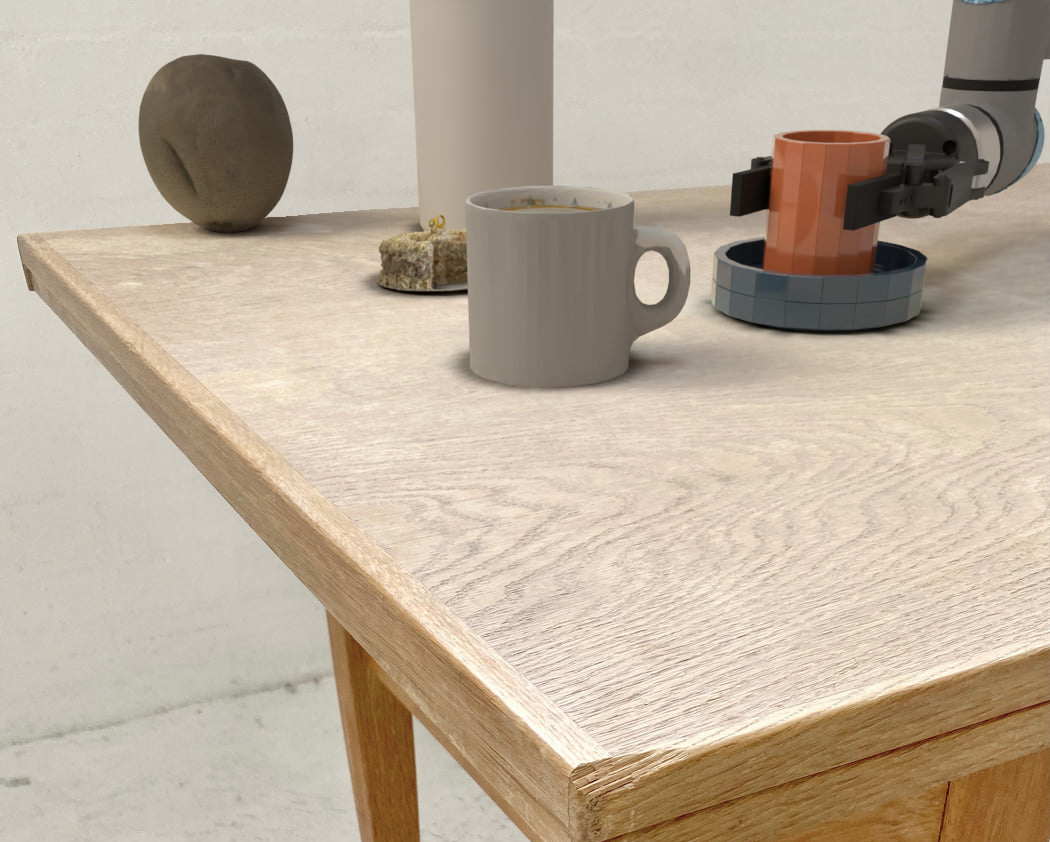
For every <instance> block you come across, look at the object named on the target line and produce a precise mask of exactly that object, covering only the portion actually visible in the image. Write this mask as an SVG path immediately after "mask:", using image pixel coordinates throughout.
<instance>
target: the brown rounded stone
mask: <svg viewBox="0 0 1050 842" xmlns="http://www.w3.org/2000/svg"><path fill="white" fill-rule="evenodd" d="M293 134H294V133H293V127H292V123H291V119H290V115H289V111H288V108H287V105H286V102H285V101H284V99H283V96H282V94H281V93H280V91H279V90H278V88H277V86H276V85H275V83H274V82H273V81H272V80H271V78H270V77H269V76H268V75H267V74H266V73H265V72H264V71H263V70H262V69H261V68H260V67H259V66H257V65H256V64H254V63H253V62H251V61H249V60H244V59H243V60H242V59H234V58H229V57H225V56H221V55H220V56H219V55H213V54H204V53H198V54H189V55H182V56H179V57H177V58H175V59H173V60H171V61H169V62H167V63H165V64H164V65H163V66H161V67H160V68H158V70H157V71H156V72H155V73H154V74H153V76H152V77H151V78H150V80H149V82H148V84H147V86H146V88H145V90H144V93H143V95H142V98H141V101H140V105H139V111H138V139H139V146H140V150H141V155H142V158H143V161H144V164H145V166H146V170H147V171H148V174H149V177H150V178H151V180H152V182H153V184H154V186H155V187H156V189H157V190H158V192H159V193H160V195H161V197H162V198H163V199H164V200H165V202H167V203H168V205H170V206H171V207H172V209H174V210H175V211H176V212H177V213H179V214H180V215H181V216H183V217H184V218H186V219H187V220H189V221H190V222H192V223H193V224H195V225H197V226H198V227H201V228H204V229H206V230H208V231H212V232H215V233H217V232H218V233H238V232H245V231H247V230H251V229H252V228H254V227H255V226H257V225H259V223H261V222H262V221H263V220H265V219H266V218H267V217H268V215H269V214H270V213H271V212H272V211H273V210H274V209H275V208H276V206H277V205H278V204H279V202H280V201H281V199H282V197H283V196H284V193H285V190H286V187H287V186H288V185H287V184H288V182H289V178H290V173H291V170H292V165H293V160H294V159H293V158H294V135H293Z"/></svg>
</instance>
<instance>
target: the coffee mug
mask: <svg viewBox="0 0 1050 842" xmlns="http://www.w3.org/2000/svg"><path fill="white" fill-rule="evenodd" d="M634 219H635V198H634V197H633V196H632V195H631V194H628V193H626V192H623V191H619V190H613V189H608V188H601V187H592V186H576V185H553V186H525V187H512V188H502V189H495V190H489V191H483V192H479V193H476V194H474V195H471V196H469V197H468V198H467V199H466V242H467V277H468V284H467V288H468V289H467V307H468V309H467V310H468V311H467V312H468V338H469V339H468V345H469V368H470V371H471V372H473V373H474V374H475V375H477V376H479V378H480V377H481V378H483V379H485V380H489V381H490V382H491V381H492V382H495V383H498V384H499V383H500V384H503V385H504V384H505V385H510V386H516V387H517V386H518V387H529V388H568V387H580V386H588V385H593V384H597V383H602V382H606V381H610V380H613V379H616V378H617V377H618V378H619V377H620V376H621V375H623V374H624V373H626V372H627V371H628V369H629V366H630V362H629V361H630V351H631V348H632V346H633V344H634V342H636V341H637V340H638V339H639V338H641V337H642V336H644V335H647V334H649V333H651V332H654V331H656V330H658V329H661V328H663V327H664V326H666V325H668V324H670V323H671V322H673V321H674V320H675V319H676V318H677V317H678V316H679V314H680V313H681V312H682V310H683V308H684V307H685V305H686V302H687V299H688V296H689V292H690V286H691V272H692V271H691V263H690V261H691V260H690V257H689V254H688V253H689V252H688V250H687V247H686V245H685V243H684V242H683V240H682V239H681V238H680V237H679V236H678V235H677V234H676V233H674V232H673V231H671V230H669V229H666V228H662V227H657V226H648V225H647V226H645V225H638V224H635V223H634ZM647 252H656V253H658V254H660V256H662V258H663V259H664V260H665V262H666V266H667V269H668V284H667V289H666V292H665V294H664V296H663V298H661V299H660V300H659V301H658V302H656V303H652V304H647V303H644V302H642V300H640V298H639V297H638V296H637V293H636V285H635V276H636V270H637V269H636V268H637V265H638V262H639V261H640V259H641V257H642V256H643V255H645V253H647Z"/></svg>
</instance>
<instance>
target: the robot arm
mask: <svg viewBox="0 0 1050 842" xmlns="http://www.w3.org/2000/svg"><path fill="white" fill-rule="evenodd" d="M950 13H951V14H950V22H949V28H948V36H947V37H948V38H947V44H946V52H945V61H944V67H943V77H942V85H941V88H940V95H939V104H938V107H931V108H928V109H925V110H922V111H918V112H912V113H909V114H906V115H903V116H900V117H898V118H897V119H895V120H893V121H892V122H890V123H889V124H887V125H886V127H885V128H884V129H883V130H881V132H880V134H882V135H886V136H888V137H889V138H890V146H889V154H888V162H887V170H886V175H882V176H879V177H875V178H872V179H868V180H865V181H861V182H857V183H854V184H850V185H848V189H847V198H846V207H845V216H844V225H843V229H844V230H852V231H854V230H857V229H860V228H863V227H866V226H869V225H872V224H875V223H878V222H880V223H881V222H883V221H886V220H889V219H893V218H896V217H898V218H903V219H910V220H915V219H921V218H926V217H929V216H930V217H932V218H934V219H941V218H943V217H947V216H948V215H950V214H952V213H953V212H955V211H956V210H958V209H960V207H962V206H963V205H965V204H967V203H968V202H970V201H978V200H979V199H983V198H985V197H989V196H993V195H997V194H999V193H1001V192H1003V191H1005V190H1008V188H1009V187H1011V186H1013V185H1015V184H1016V183H1018V182H1019V181H1020V180H1022V179H1024V178H1025V177H1026V176H1027V175H1028V174H1029V173H1030V172H1031V171H1032V170H1033V169H1034V167H1035V166H1036V164H1037V163H1038V161H1039V160H1040V157H1041V155H1042V152H1043V149H1044V144H1045V125H1044V122H1043V119H1042V116H1041V114H1040V112H1039V110H1038V108H1037V107H1036V104H1037V98H1038V91H1039V88H1040V87H1039V86H1040V80H1041V76H1042V69H1043V65H1044V61H1045V60H1050V0H952V5H951V12H950ZM771 159H772V155H769V156H768V155H767V156H756V157H755V158H754V157H753V158H751V159H750V168H749V169H746V170H741V171H737V172H733V173H732V178H731V192H730V196H731V197H730V208H729V216H730V217H737V218H741V217H744V216H748V215H750V214H755V213H758V212H761V211H764V210H765V211H767V207H768V195H769V183H770V171H771Z"/></svg>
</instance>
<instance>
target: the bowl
mask: <svg viewBox="0 0 1050 842" xmlns="http://www.w3.org/2000/svg"><path fill="white" fill-rule="evenodd" d="M764 243H765V236H762V237H754V238H748V239H742V240H741V239H740V240H735V241H731V242H729V243H726V244H724V245H721V246H719V247H718V248H717V249H716V250H715V251H714V252H713V261H712V274H711V275H712V278H711V293H710V302H711V304H712V306H713V308H714V310H715V309H716V310H717V311H719V312H721V313H722V314H725V315H727V316H728V317H731V318H735V319H739V320H742V321H744V322H747V323H751V324H755V325H760V326H764V327H769V328H776V329H782V330H791V331H802V332H853V331H865V330H873V329H879V328H883V327H888V326H891V325H896V324H900V323H904V322H907V321H909V320H911V319H913V318H914V317H917V316H918V315H920V312H921V309H922V301H923V295H924V287H925V282H926V274H927V267H928V260H929V259H928V257H927V256H926V255H925V254H923V253H922V252H921V251H919V250H917V249H914V248H911V247H908V246H906V245H902V244H897V243H893V242H888V241H882V240H878V241H877V249H876V257H875V265H874V273H871V274H859V275H811V274H794V273H785V272H778V271H770V270H763V269H762V266H763V254H764Z"/></svg>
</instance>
